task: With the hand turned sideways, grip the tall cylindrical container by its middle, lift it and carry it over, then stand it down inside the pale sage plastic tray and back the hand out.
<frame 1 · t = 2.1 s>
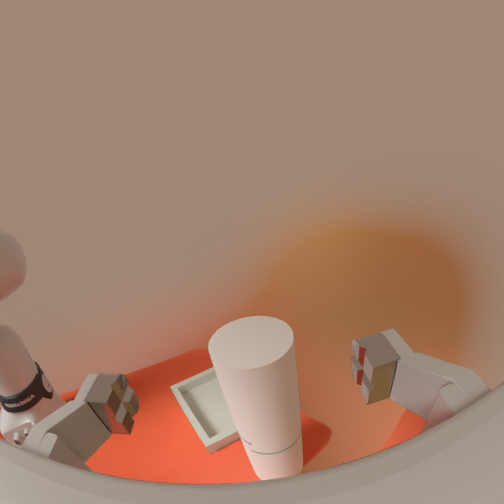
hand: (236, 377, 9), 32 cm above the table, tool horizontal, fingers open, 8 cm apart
cylindrical container: (278, 464, 30), on the table
tray: (229, 402, 44), on the table
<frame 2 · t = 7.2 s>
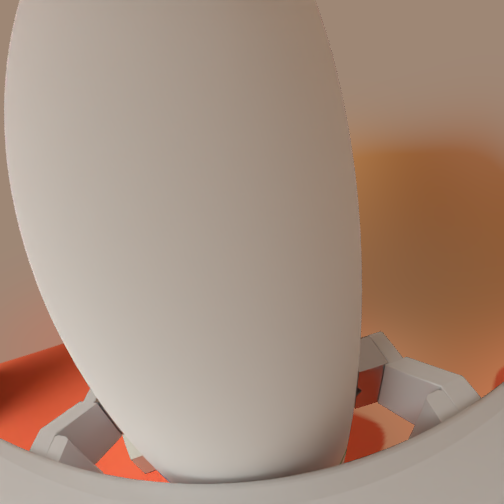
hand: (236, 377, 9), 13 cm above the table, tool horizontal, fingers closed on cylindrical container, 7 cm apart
tray: (192, 383, 25), on the table
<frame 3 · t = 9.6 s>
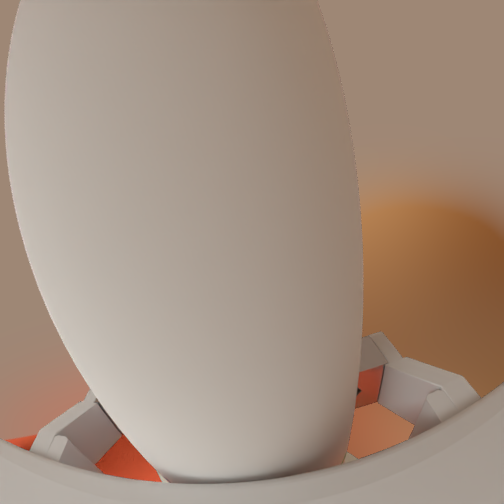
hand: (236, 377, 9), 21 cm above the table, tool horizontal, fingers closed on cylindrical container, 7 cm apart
when the fingers open (15 cm above the table, at t = 12.4 s): cylindrical container drops 1 cm, resting on tray.
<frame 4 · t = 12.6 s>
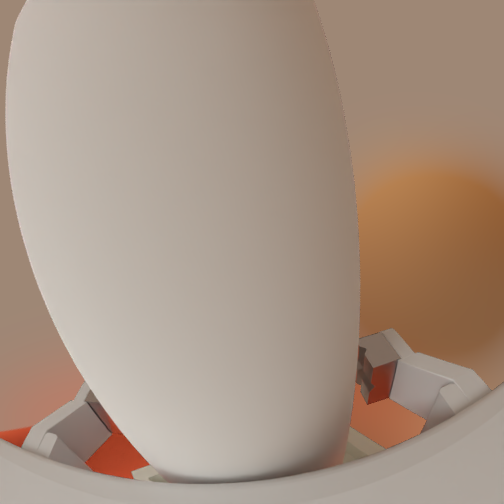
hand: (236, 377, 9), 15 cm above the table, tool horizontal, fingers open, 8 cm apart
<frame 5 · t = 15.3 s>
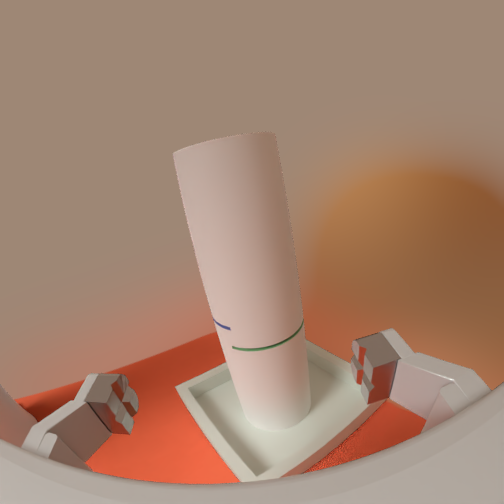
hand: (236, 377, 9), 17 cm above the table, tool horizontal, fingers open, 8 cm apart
cylindrical container: (277, 405, 25), resting on tray
tray: (278, 407, 26), on the table
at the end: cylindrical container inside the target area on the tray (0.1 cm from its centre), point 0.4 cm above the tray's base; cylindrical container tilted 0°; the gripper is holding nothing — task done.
